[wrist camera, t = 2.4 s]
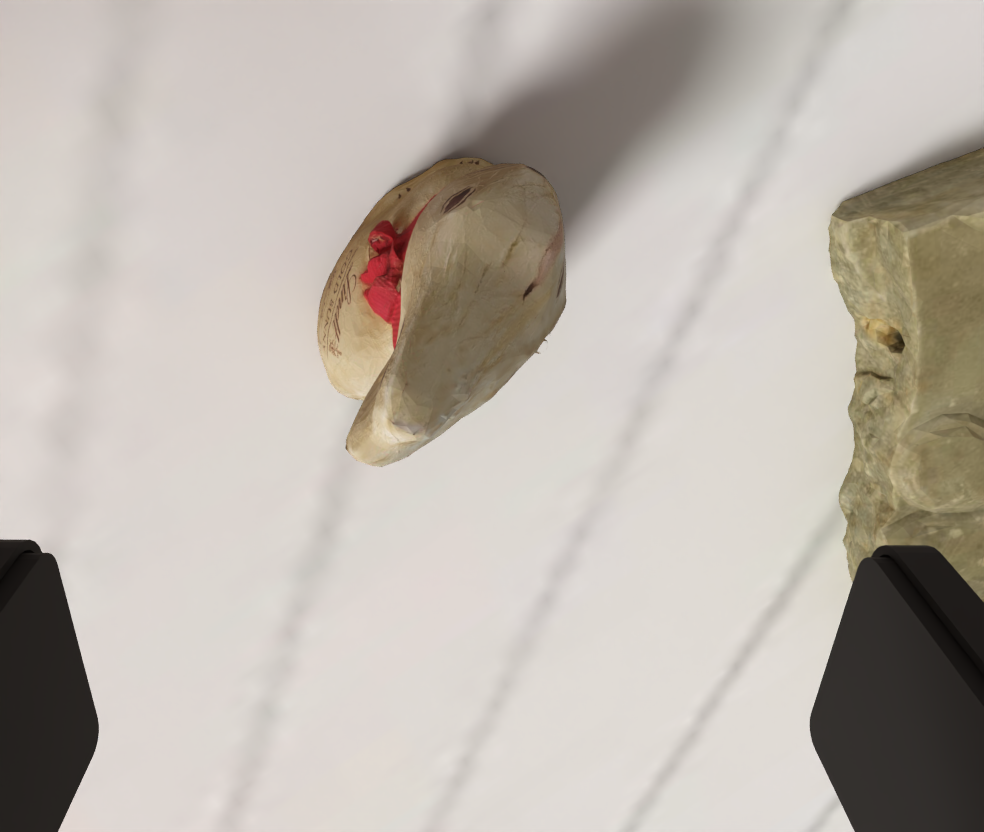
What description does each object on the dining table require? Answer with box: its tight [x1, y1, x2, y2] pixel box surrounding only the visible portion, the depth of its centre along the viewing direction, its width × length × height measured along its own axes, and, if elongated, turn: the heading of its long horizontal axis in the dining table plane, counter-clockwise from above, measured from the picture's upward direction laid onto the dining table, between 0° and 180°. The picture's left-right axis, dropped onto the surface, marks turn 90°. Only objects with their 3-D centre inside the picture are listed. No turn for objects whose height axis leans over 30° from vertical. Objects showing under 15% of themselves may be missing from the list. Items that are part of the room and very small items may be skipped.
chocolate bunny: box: [317, 158, 566, 467], centre depth 18 cm, size 6×8×10 cm
